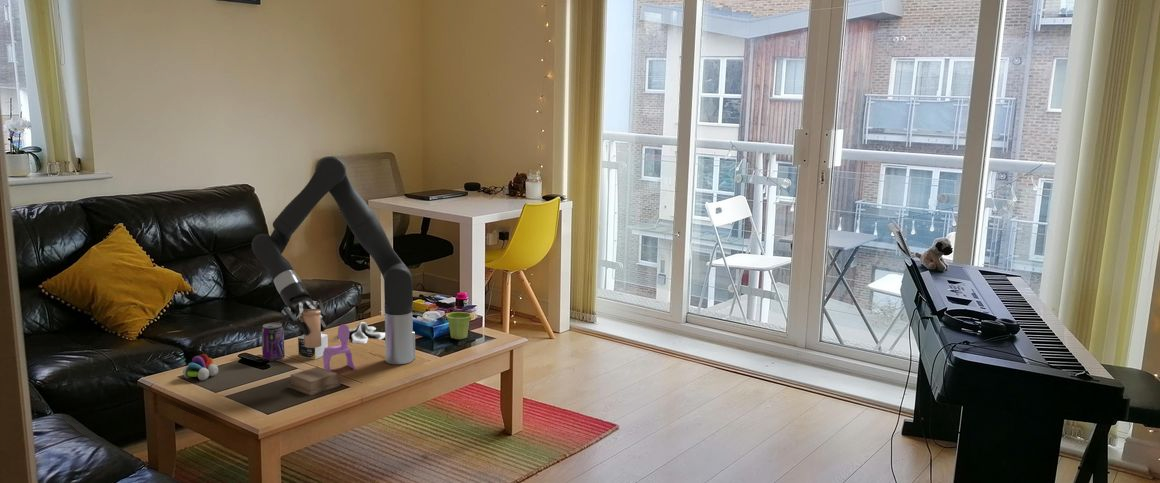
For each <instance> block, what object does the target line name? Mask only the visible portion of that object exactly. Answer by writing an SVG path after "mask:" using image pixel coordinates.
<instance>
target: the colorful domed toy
mask: <svg viewBox="0 0 1160 483" xmlns="http://www.w3.org/2000/svg"><path fill="white" fill-rule="evenodd" d="M218 367H219V366H218V365H217V364H215V363H214V359H213V358H212V357H209V356H208V355H207V354H205V353H203V354H200V355H195V356H194V357H192V360H191V362H189V363H188V364H187V366H185V367H184V369H183V370H182V374H183V377H184V378H186V379H191V378H193V377H194V378H198V379H199V380H200V381H205V380H207V379H208V378H209V377H215V376H216V375H217V374H218V372H219V368H218Z"/></svg>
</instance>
